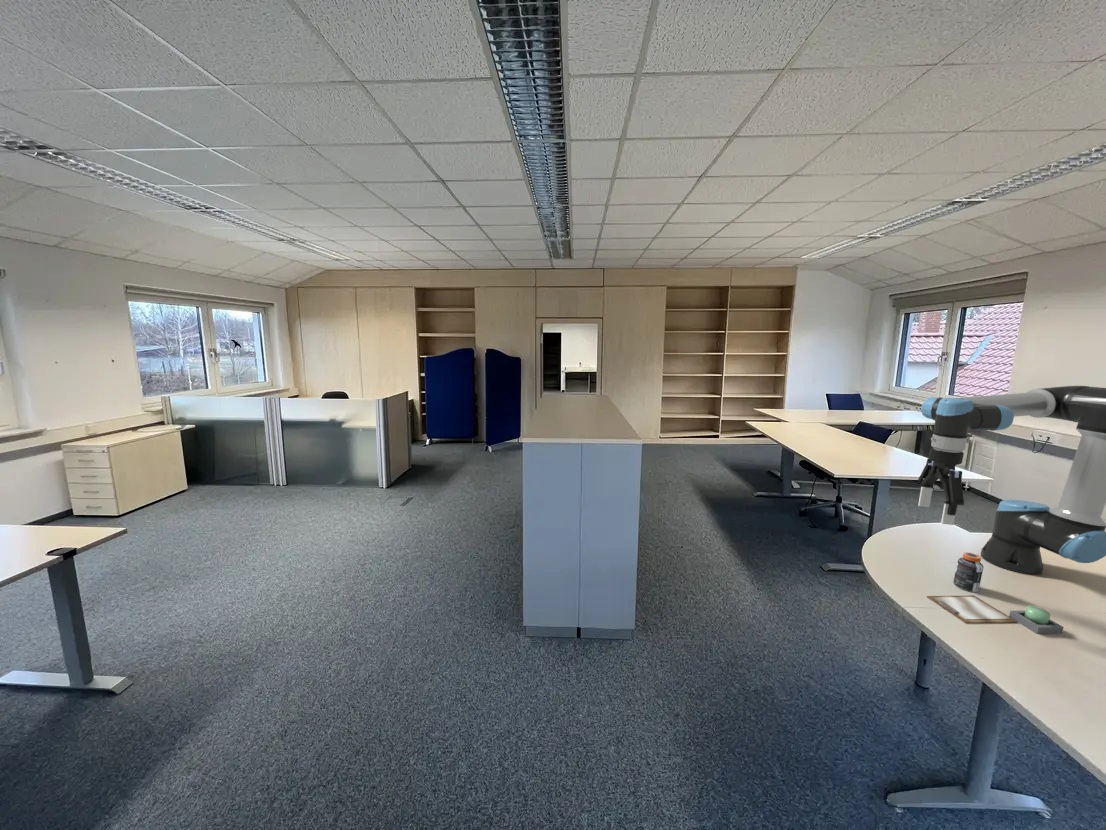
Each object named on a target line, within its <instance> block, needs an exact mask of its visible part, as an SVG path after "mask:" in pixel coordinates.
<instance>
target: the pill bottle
mask: <svg viewBox="0 0 1106 830" xmlns="http://www.w3.org/2000/svg"><path fill="white" fill-rule="evenodd" d="M981 560H982V557H981V555H978V554H976V553H972V552H968V551H967V552H963V555H962V557H959V558H958V559H957V563H956V567H955V571H954V577H953V582H952V583H953V585H954V586H956V587H957V588H958V589H961V590H963V591H966V592H970V593H976V592H978V591H979V590H980V585H981V581H982V576H983V571H984V565H983V563H982V562H981Z"/></svg>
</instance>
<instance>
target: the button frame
mask: <svg viewBox="0 0 1106 830" xmlns="http://www.w3.org/2000/svg"><path fill="white" fill-rule="evenodd" d="M1025 611H1026V609H1024V610H1010V611H1009V615H1008V616H1009V617H1011V618H1012V619H1014V620H1016V621H1017V623H1018V624H1020V625H1022V626H1023V627H1024V628H1027V629H1029V631H1031V632H1033V633H1035V634H1037V635H1044V634H1045V635H1049V634H1050V635H1051V634H1052V635H1054V634H1055V635H1056V634H1059V635H1060V634H1063V632H1064V626H1062V625H1061V624H1059V623H1057V622H1055V621H1053V620H1052V619H1051V618H1049V622H1048V625H1038V624H1036V623H1034V622H1032V621H1031V620H1029V619H1027V618H1026V617H1024V615H1025Z"/></svg>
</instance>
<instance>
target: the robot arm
mask: <svg viewBox="0 0 1106 830" xmlns="http://www.w3.org/2000/svg"><path fill="white" fill-rule="evenodd" d="M920 407H921V410H920V411H921V414H922V416H924V417H925V418H927V419H929V420H930V419H931V420H932V421H934V427H933V432H932V437H930V441H931V444H930V446H931V447H930V448H929V455H928V458H927V459H926V464H925V465H924V467H923V469H922V471H921V474H920V475H919V477H918V479H917V482H918V483H920V484H919V485H920V486H921V487H920V492H919V498H918V499H919V500H918V504H917V506H918V507H924V508H930V506H931V501H932V496H933V495H932V494H933V490H934V489H933V488H934V485H935V483H936V482H937V481H938V480H939V482H940V483H942V487H943V491H944V495H945V500H946V501H943V502H944V503H943V508H942V509H943V510H942V516H941V519H940V520H941V521H940V523H941V524H942V525H949V526H954V524H955V520H956V515H957V509H958V506H964V505H965V501H964V500H965V498H964V491H963V490H964V489H963V471H962V470H956V466H957V465H958V466H959V465H962V463H963V460H964V451H965V450H966V445H967V439H968V434H969V431H991V432H995V431H1002V430H1006V429H1008V428H1009V427H1010V426H1011V425H1013V422H1014V420H1015V419H1014V418H1015V417H1025V416H1026V417H1028V416H1029V417H1032V418H1035V419H1036V418H1037V419H1040V418H1047V419H1048V418H1050V419H1056V420H1061V421H1069V422H1073V423H1077V425H1076V431H1077V432H1078V433H1079V434H1080V435H1081V436H1080V440H1079V441H1078V445H1077V449H1076V452H1075V455H1074V457H1073V459H1072V460H1073V461H1072V464H1071V466H1070V469H1069V473H1068V475H1067V479H1066V482H1065V485H1064V488H1063V489H1062V493H1061V496H1060V500H1059V502H1058V506H1057V507H1053V508H1050V506H1049V505H1047V504H1043V503H1039V502H1034V501H1028V500H1021V499H1004V500H1001V501H1000V502H999V504H998V507H997V509H996V512H995V513H996V514H995V519H994V523H993V529H992V534H991V537H990V538H989V539H988V541H987V542H986V543H985V544H984V546H983V547H981V551H980V557H981V559H984V561H986V562H988V563H990V564H992V565H994V566H997V567H999V568H1002V569H1006V570H1008V571H1011V572H1016V573H1020V574H1026V575H1040V574H1043V570H1044V568H1045V566H1044V563H1043V558H1042V553H1041V549H1044V550H1047V551H1049V552H1052V553H1054V554H1056V555H1058V556H1060V557H1062V558H1063V559H1069V560H1071V561H1074V562H1076V563H1081V564H1091V563H1095V562H1097V561H1099V560H1102V559H1103V558H1105V557H1106V531H1105V530H1106V522H1105V520H1104V519H1103V518H1102V515H1103V512H1104V509H1105V507H1106V387H1099V386H1090V385H1089V386H1087V385H1066V386H1063V385H1062V386H1054V387H1044V388H1034V389H1030V390H1028V391H1027V392H1020V393H1018V392H1017V393H1006V394H996V395H995V394H994V395H993V394H991V395H980V396H968V397H967V396H966V397H945V398H943V397H937V396H936V397H935V396H932V397H928V398H927V399H925V400H924V401H923V402H922V404H921V406H920Z"/></svg>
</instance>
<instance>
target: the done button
mask: <svg viewBox="0 0 1106 830" xmlns="http://www.w3.org/2000/svg"><path fill="white" fill-rule="evenodd" d="M1025 610H1026V611H1025ZM1025 610H1024V611H1025V615H1024V617H1026V618H1027V619H1029V620H1031V621H1032V622H1034V623H1036V624H1038V625H1048V622H1049V619H1051V613H1050V612H1049V611H1047V610H1046V609H1044V608H1041V607H1039V606H1035V605H1026V607H1025Z"/></svg>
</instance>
